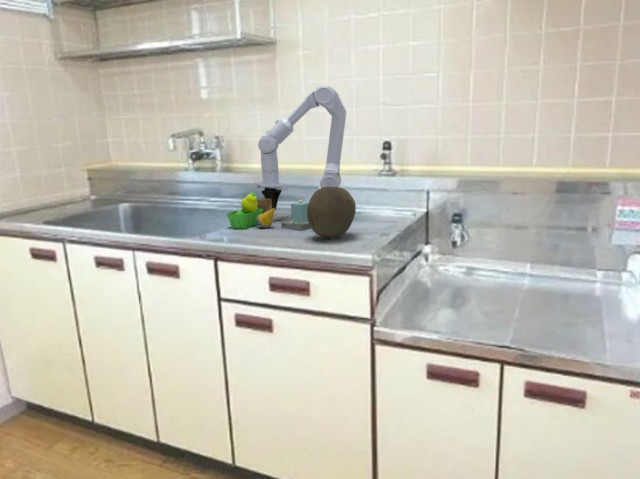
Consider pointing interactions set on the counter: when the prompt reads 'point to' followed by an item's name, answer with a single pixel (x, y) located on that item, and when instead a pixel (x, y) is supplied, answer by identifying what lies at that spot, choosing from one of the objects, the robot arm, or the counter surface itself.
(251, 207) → the fruit basket
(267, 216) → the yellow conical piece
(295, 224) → the press bed
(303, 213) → the block
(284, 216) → the track
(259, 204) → the brown tall block
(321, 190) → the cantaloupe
